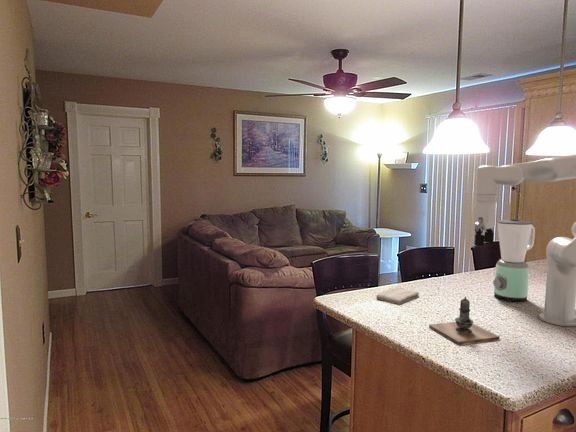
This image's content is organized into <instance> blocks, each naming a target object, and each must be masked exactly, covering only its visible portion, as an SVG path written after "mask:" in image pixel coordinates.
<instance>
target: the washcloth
mask: <svg viewBox="0 0 576 432" xmlns="http://www.w3.org/2000/svg"><path fill="white" fill-rule="evenodd" d="M419 295H420V292H419V291H416V290H409V289H406V288H402V287H394V288H392V287H391V288H388V289H385V290H383V291H380V292H378V293H377V294H376V296H375V297H376V299H377V300H381V301H384V302H385V301H386V302H388V303H392V304H394V305H395V304H397V305H402V304H404V303H406V302H409V301H411V300H413V299H415V298H418V297H420V296H419Z"/></svg>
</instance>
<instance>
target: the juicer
mask: <svg viewBox="0 0 576 432" xmlns="http://www.w3.org/2000/svg"><path fill="white" fill-rule="evenodd" d="M533 224H534V222H532V221H528V220H520V219H516V218H510V219H500V220H497V231H498V241H499V249H500V250H499V251H500V257H501V258H499V260H497V261H496V264H495V271H494V279H493V282H492V284H493V286H494V287H493V294H494V295H493V296H494V297H495V298H499V299H503V300H506V301H507V302H509V303H513V302H514V301H523V302H526V301H527V300H528V299H527V298H528V295H529V294H528V292H529V291H528V290H529V277H530V276H529V275H530V269H529V268H530V267H529V265H528V263H527V262H526V261H525V258H526V254H527V251H529V250H531V249H532V248H533V246H534V244H535V235H536V228H535V226H534V225H533Z"/></svg>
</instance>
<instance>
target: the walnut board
mask: <svg viewBox="0 0 576 432" xmlns="http://www.w3.org/2000/svg"><path fill="white" fill-rule="evenodd" d="M457 327H458V326H457V324H456V321H449V322H441V323H433V324H429V325H428V328H429V329H431V330H433V331H434V332H437V333H438V334H440V335H441V336H443V337H444V338H446V339H448V340H449V341H452V342H453V343H454V344H456V345H458V346H461V345H468V344H474V343H475V344H476V343H485V342H491V341H498V340H500V336H499V335H497V334H495V333H493V332H491V331H489V330H488V329H486V328H483V327H481V326H479V325H477V324H475V323H474V322H473V323H472V326H471V327H470V328H469V329H471V330H472V332H471V333H461V332H458V331H456V328H457Z"/></svg>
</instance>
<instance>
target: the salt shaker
mask: <svg viewBox="0 0 576 432" xmlns="http://www.w3.org/2000/svg"><path fill="white" fill-rule="evenodd" d="M470 303H471V301H470V300H469V299H467V297H466V296H464V298H462V299H461V300H460V306H459V308H458V309H459V316H458V317H455V319H454V322H456V324H457V326H458V327H457V328H456V331H458V332H461V333H471V332H472V330H471V329H469V328H470V327H471V326H472V323H473V324H474V320H473V319H471V318H470V311H471V309H470V305H471V304H470Z"/></svg>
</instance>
